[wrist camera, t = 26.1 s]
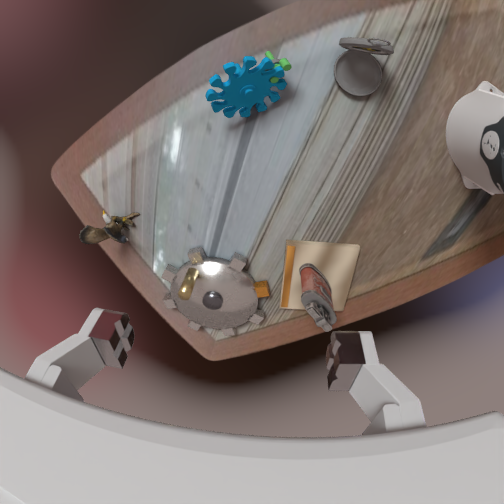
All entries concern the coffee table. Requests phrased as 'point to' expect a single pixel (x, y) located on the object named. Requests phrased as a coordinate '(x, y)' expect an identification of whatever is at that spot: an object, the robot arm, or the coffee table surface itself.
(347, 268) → the pad
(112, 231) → the eagle figurine
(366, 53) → the pocket watch
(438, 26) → the coffee table surface
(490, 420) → the robot arm
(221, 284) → the sprocket
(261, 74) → the gear
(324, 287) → the lighter
